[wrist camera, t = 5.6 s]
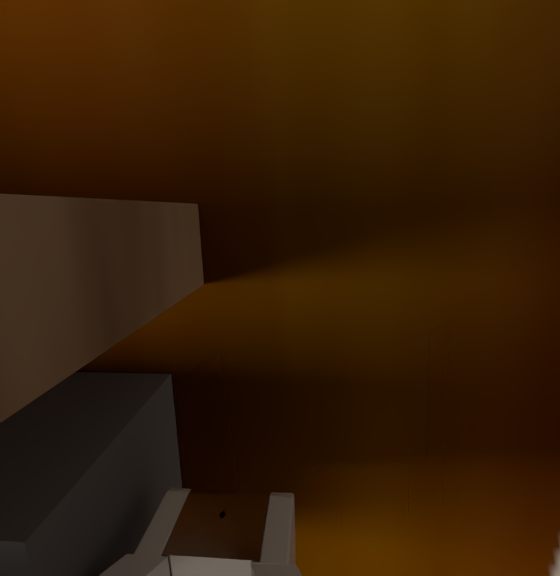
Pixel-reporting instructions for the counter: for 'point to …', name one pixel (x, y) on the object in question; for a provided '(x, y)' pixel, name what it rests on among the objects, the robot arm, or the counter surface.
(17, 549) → the block
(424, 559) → the counter surface
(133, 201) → the wall frame
